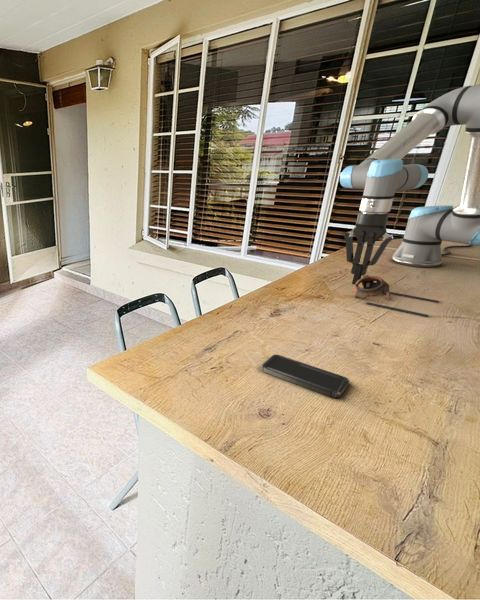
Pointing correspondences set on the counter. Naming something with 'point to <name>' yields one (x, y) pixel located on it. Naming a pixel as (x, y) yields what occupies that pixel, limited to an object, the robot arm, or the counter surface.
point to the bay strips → (401, 309)
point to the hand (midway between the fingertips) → (355, 283)
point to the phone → (306, 375)
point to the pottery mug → (372, 287)
